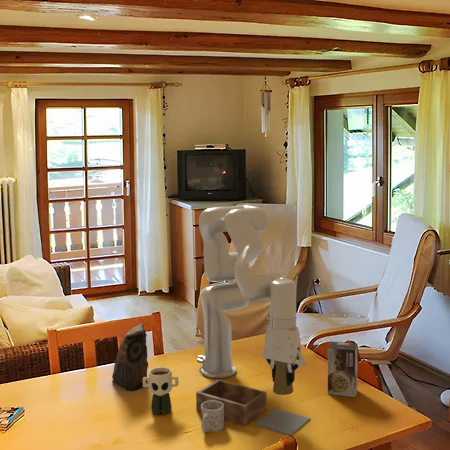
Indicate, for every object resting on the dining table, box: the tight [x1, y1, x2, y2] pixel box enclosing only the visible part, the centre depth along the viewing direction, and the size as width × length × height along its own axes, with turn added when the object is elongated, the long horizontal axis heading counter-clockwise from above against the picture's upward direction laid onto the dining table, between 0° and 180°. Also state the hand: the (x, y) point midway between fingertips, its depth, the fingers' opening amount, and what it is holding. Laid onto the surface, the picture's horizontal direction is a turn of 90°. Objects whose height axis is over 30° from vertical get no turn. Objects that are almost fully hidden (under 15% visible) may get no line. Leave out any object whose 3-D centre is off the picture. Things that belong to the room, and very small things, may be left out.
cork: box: [272, 361, 294, 396], centre depth 187 cm, size 6×6×11 cm
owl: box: [111, 322, 149, 392], centre depth 216 cm, size 13×13×20 cm
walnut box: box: [195, 378, 268, 427], centre depth 197 cm, size 18×12×6 cm, turn 56°
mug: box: [200, 400, 225, 433], centre depth 185 cm, size 10×7×7 cm
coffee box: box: [327, 340, 359, 398], centre depth 208 cm, size 9×6×16 cm
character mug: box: [142, 366, 179, 415], centre depth 196 cm, size 11×7×13 cm, turn 91°
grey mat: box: [254, 408, 311, 437], centre depth 189 cm, size 12×12×1 cm
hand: (283, 381), depth 187 cm, fingers closed on cork, 4 cm apart
